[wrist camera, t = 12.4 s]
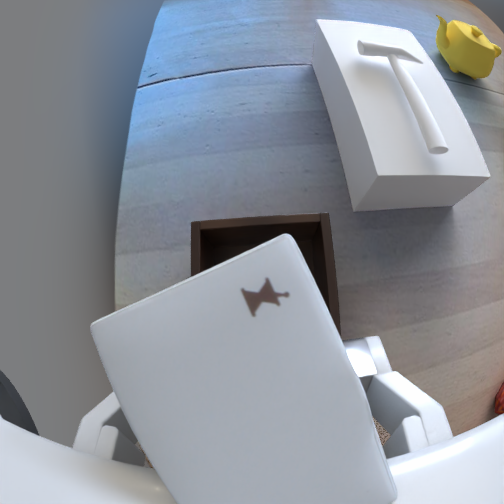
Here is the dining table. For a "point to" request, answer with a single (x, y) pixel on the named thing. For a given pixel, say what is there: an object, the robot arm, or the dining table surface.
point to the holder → (263, 230)
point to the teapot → (466, 48)
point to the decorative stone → (500, 401)
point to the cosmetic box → (246, 387)
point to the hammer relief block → (393, 119)
